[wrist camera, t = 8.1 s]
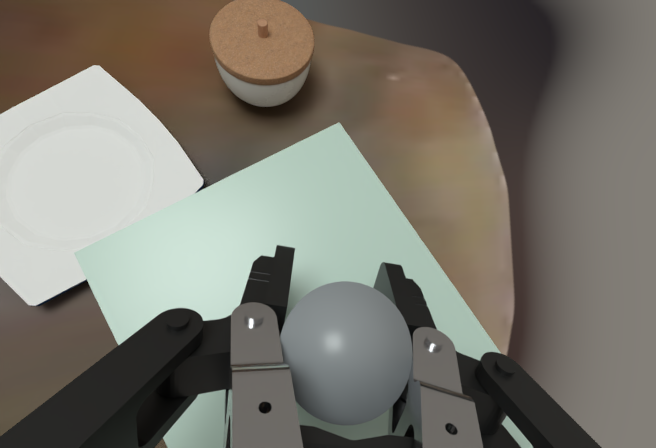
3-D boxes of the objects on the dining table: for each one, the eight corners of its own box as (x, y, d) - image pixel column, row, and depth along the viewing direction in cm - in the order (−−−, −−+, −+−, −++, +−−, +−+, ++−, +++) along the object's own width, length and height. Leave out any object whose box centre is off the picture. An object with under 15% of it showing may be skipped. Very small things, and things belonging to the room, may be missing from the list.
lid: (95, 261, 18) (-76, 191, 9) (333, 141, 21) (370, 11, 13) (284, 645, 14) (294, 1102, 6) (527, 422, 18) (751, 500, 9)
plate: (110, 70, 42) (99, 53, 40) (222, 193, 40) (219, 183, 37) (-74, 172, 36) (-100, 159, 34) (46, 325, 33) (27, 324, 31)
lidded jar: (323, 105, 45) (335, 47, 36) (243, 136, 42) (235, 81, 33) (283, 40, 47) (286, -30, 38) (205, 65, 44) (187, -4, 35)
